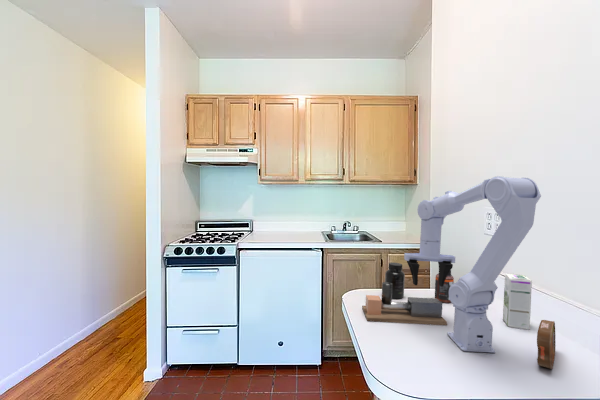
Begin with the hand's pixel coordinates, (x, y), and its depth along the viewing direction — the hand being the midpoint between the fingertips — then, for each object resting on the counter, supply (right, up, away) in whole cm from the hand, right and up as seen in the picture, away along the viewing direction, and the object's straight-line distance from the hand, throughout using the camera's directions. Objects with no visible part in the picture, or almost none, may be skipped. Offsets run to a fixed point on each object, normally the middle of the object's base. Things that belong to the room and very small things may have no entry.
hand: (427, 285), depth 99 cm
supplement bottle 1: (-4, -10, +21) cm, 23 cm away
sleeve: (-1, -10, +1) cm, 10 cm away
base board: (-7, -10, +2) cm, 13 cm away
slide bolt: (-10, -8, +2) cm, 13 cm away
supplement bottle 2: (+12, -10, +18) cm, 24 cm away
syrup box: (+25, -12, -2) cm, 28 cm away
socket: (-16, -10, +2) cm, 19 cm away
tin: (+19, -12, -22) cm, 31 cm away
